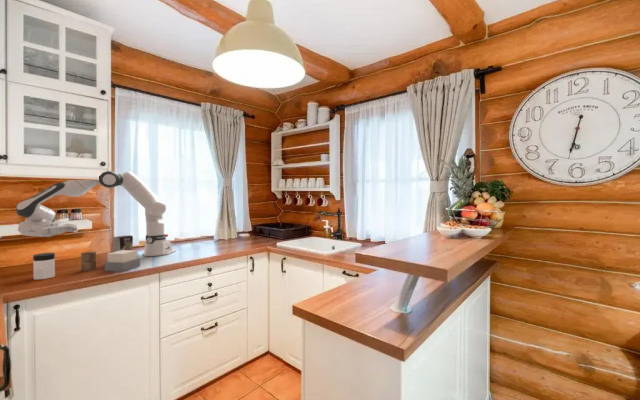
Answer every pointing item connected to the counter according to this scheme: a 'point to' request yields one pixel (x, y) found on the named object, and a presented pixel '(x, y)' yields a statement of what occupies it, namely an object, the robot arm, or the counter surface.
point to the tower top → (122, 256)
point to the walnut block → (88, 261)
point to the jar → (44, 265)
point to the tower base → (122, 265)
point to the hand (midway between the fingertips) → (68, 229)
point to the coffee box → (122, 243)
